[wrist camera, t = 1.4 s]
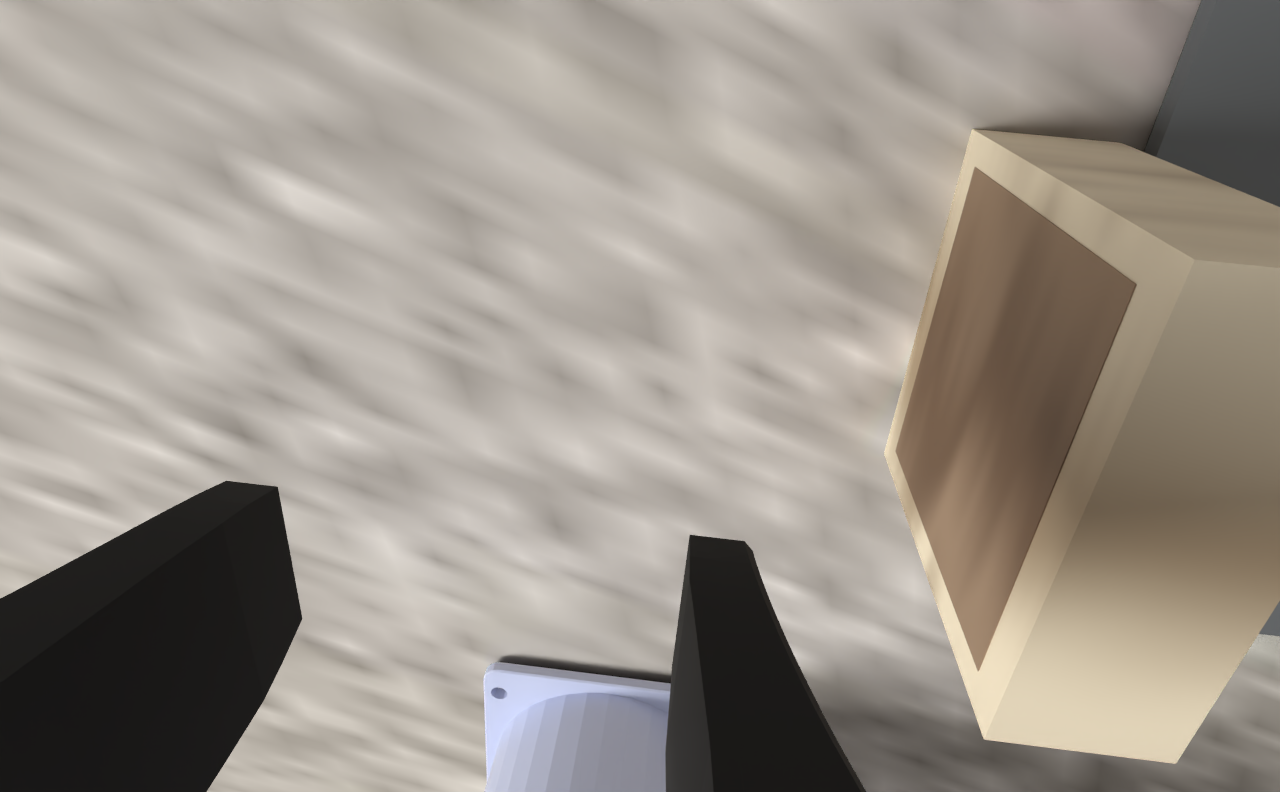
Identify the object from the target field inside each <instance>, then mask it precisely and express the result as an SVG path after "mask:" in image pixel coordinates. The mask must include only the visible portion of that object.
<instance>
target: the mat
mask: <svg viewBox="0 0 1280 792" xmlns="http://www.w3.org/2000/svg"><path fill="white" fill-rule="evenodd" d="M1144 152H1145V153H1147V154H1150V155H1152V156H1155V157H1157V158H1160V159H1162V160H1164V161H1167V162H1169V163H1172V164H1174V165H1177V166H1179V167H1182V168H1184V169H1187V170H1189V171H1192V172H1194V173H1197V174H1199V175H1202V176H1204V177H1206V178H1209V179H1211V180H1214V181H1216V182H1219V183H1221V184H1224V185H1226V186H1229V187H1231V188H1234V189H1236V190H1239V191H1241V192H1244V193H1246V194H1248V195H1251V196H1253V197H1256V198H1258V199H1261V200H1263V201H1266V202H1268V203H1271V204H1273V205H1276V206H1278V207H1280V0H1202V1H1201V3H1200V6H1199V9H1198V11H1197V14H1196V16H1195V19H1194V22H1193V24H1192V27H1191V30H1190V32H1189V35H1188V38H1187V40H1186V43H1185V45H1184V48H1183V51H1182V53H1181V56H1180V59H1179V61H1178V64H1177V66H1176V69H1175V72H1174V74H1173V77H1172V80H1171V82H1170V85H1169V87H1168V90H1167V93H1166V95H1165V98H1164V101H1163V103H1162V106H1161V109H1160V111H1159V114H1158V116H1157V119H1156V122H1155V124H1154V127H1153V130H1152V132H1151V135H1150V137H1149V140H1148V143H1147V145H1146V148H1145V151H1144ZM1259 634H1266V635H1274V636H1280V601H1279V603H1278V604H1277V606H1276V607H1275V609H1274V611H1273V612H1272V614H1271V615H1270V617H1269V618H1268V620H1267V621H1266V623H1265V625H1264V626H1263V628H1262V629H1261V631H1260V632H1259Z"/></svg>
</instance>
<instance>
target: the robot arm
mask: <svg viewBox="0 0 1280 792" xmlns="http://www.w3.org/2000/svg"><path fill="white" fill-rule="evenodd" d="M301 620H302V615H301V609H300V604H299V599H298V593H297V588H296V583H295V577H294V572H293V567H292V561H291V556H290V550H289V545H288V540H287V534H286V529H285V524H284V518H283V513H282V508H281V502H280V497H279V491H278V487H274V486H266V485H257V484H248V483H240V482H231V481H225V482H223V483H221V484H219V485H216V486H214V487H212V488H210V489H208V490H206V491H204V492H202V493H199V494H197V495H195V496H193V497H191V498H190V499H188V500H186V501H184V502H182V503H180V504H178V505H176V506H174V507H172V508H170V509H168V510H166V511H165V512H163V513H161V514H159V515H157V516H155V517H153V518H151V519H149V520H148V521H146V522H144V523H142V524H140V525H138V526H136V527H135V528H133V529H131V530H129V531H127V532H125V533H123V534H122V535H120V536H118V537H116V538H114V539H112V540H110V541H109V542H107V543H105V544H103V545H101V546H99V547H97V548H95V549H94V550H92V551H90V552H88V553H86V554H84V555H82V556H80V557H79V558H77V559H75V560H73V561H71V562H69V563H67V564H65V565H64V566H62V567H60V568H58V569H56V570H54V571H52V572H50V573H49V574H47V575H45V576H43V577H41V578H39V579H37V580H35V581H33V582H32V583H30V584H28V585H26V586H24V587H22V588H20V589H18V590H16V591H15V592H13V593H11V594H9V595H7V596H5V597H3V598H1V599H0V792H207V790H208V788H209V787H210V785H211V784H212V782H213V781H214V779H215V777H216V776H217V774H218V773H219V771H220V770H221V768H222V767H223V765H224V763H225V762H226V760H227V759H228V757H229V755H230V754H231V752H232V751H233V749H234V747H235V746H236V744H237V743H238V741H239V739H240V738H241V736H242V735H243V733H244V731H245V730H246V728H247V727H248V725H249V724H250V722H251V720H252V719H253V717H254V715H255V714H256V712H257V711H258V709H259V707H260V706H261V704H262V702H263V701H264V699H265V697H266V695H267V693H268V691H269V689H270V687H271V685H272V683H273V681H274V679H275V676H276V674H277V672H278V670H279V668H280V666H281V664H282V662H283V660H284V658H285V656H286V653H287V651H288V649H289V647H290V645H291V642H292V640H293V638H294V636H295V634H296V631H297V629H298V627H299V625H300V623H301ZM498 687H499V688H498ZM501 688H503V689H501ZM484 706H485V736H486V765H487V785H486V788H485V791H484V792H866V791H865V789H864V787H863V785H862V784H861V782H860V780H859V778H858V777H857V775H856V773H855V771H854V770H853V768H852V766H851V764H850V763H849V761H848V759H847V757H846V756H845V754H844V752H843V750H842V749H841V747H840V745H839V743H838V741H837V739H836V738H835V736H834V734H833V732H832V730H831V728H830V726H829V725H828V723H827V721H826V719H825V717H824V715H823V713H822V711H821V709H820V707H819V705H818V703H817V701H816V699H815V697H814V695H813V693H812V691H811V689H810V687H809V685H808V683H807V681H806V679H805V677H804V675H803V673H802V671H801V669H800V667H799V665H798V663H797V661H796V659H795V657H794V655H793V653H792V650H791V648H790V646H789V644H788V642H787V640H786V637H785V635H784V633H783V630H782V628H781V626H780V623H779V621H778V619H777V616H776V614H775V612H774V609H773V607H772V605H771V602H770V600H769V597H768V595H767V592H766V589H765V587H764V584H763V581H762V579H761V576H760V573H759V570H758V567H757V564H756V561H755V558H754V554H753V551H752V550H751V549H750V547H749V546H748V545H747V544H746V543H745V541H738V540H729V539H720V538H712V537H703V536H695V535H690V538H689V545H688V552H687V560H686V567H685V575H684V582H683V590H682V597H681V604H680V612H679V619H678V627H677V634H676V642H675V649H674V656H673V664H672V676H671V683H663V682H655V681H647V680H639V679H631V678H623V677H615V676H607V675H599V674H591V673H583V672H575V671H567V670H559V669H551V668H543V667H535V666H527V665H519V664H511V663H503V662H496V663H493V664H490V665H489V666H488V667H487V670H486V672H485V676H484Z"/></svg>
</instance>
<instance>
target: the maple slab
mask: <svg viewBox="0 0 1280 792" xmlns="http://www.w3.org/2000/svg"><path fill="white" fill-rule="evenodd" d="M884 455H885V458H886V460H887V463H888V466H889V469H890V472H891V475H892V478H893V480H894V483H895V486H896V489H897V492H898V495H899V498H900V501H901V503H902V506H903V509H904V512H905V515H906V518H907V521H908V523H909V526H910V529H911V532H912V535H913V538H914V541H915V544H916V546H917V549H918V552H919V555H920V558H921V561H922V564H923V566H924V569H925V572H926V575H927V578H928V581H929V584H930V587H931V589H932V592H933V595H934V598H935V601H936V604H937V607H938V609H939V612H940V615H941V618H942V621H943V624H944V627H945V630H946V632H947V635H948V638H949V641H950V644H951V647H952V650H953V652H954V655H955V658H956V661H957V664H958V667H959V670H960V673H961V675H962V678H963V681H964V684H965V687H966V690H967V693H968V695H969V698H970V701H971V704H972V707H973V710H974V713H975V716H976V718H977V721H978V724H979V727H980V730H981V733H982V736H983V738H984V740H991V741H999V742H1007V743H1015V744H1023V745H1031V746H1039V747H1047V748H1055V749H1063V750H1071V751H1078V752H1086V753H1094V754H1102V755H1110V756H1118V757H1126V758H1134V759H1142V760H1150V761H1158V762H1165V763H1173V764H1176V763H1177V761H1178V760H1179V758H1180V757H1181V755H1182V753H1183V752H1184V750H1185V749H1186V747H1187V746H1188V744H1189V742H1190V741H1191V739H1192V738H1193V736H1194V735H1195V733H1196V731H1197V730H1198V728H1199V727H1200V725H1201V724H1202V722H1203V720H1204V719H1205V717H1206V716H1207V714H1208V713H1209V711H1210V709H1211V708H1212V706H1213V705H1214V703H1215V702H1216V700H1217V698H1218V697H1219V695H1220V694H1221V692H1222V691H1223V689H1224V687H1225V686H1226V684H1227V683H1228V681H1229V680H1230V678H1231V676H1232V675H1233V673H1234V672H1235V670H1236V669H1237V667H1238V665H1239V664H1240V662H1241V661H1242V659H1243V658H1244V656H1245V654H1246V653H1247V651H1248V650H1249V648H1250V647H1251V645H1252V643H1253V642H1254V640H1255V639H1256V637H1257V636H1258V634H1259V632H1260V631H1261V629H1262V628H1263V626H1264V625H1265V623H1266V621H1267V620H1268V618H1269V617H1270V615H1271V614H1272V612H1273V611H1274V609H1275V607H1276V606H1277V604H1278V603H1279V601H1280V207H1278V206H1276V205H1273V204H1271V203H1268V202H1266V201H1263V200H1261V199H1258V198H1256V197H1253V196H1251V195H1248V194H1246V193H1244V192H1241V191H1239V190H1236V189H1234V188H1231V187H1229V186H1226V185H1224V184H1221V183H1219V182H1216V181H1214V180H1211V179H1209V178H1206V177H1204V176H1202V175H1199V174H1197V173H1194V172H1192V171H1189V170H1187V169H1184V168H1182V167H1179V166H1177V165H1174V164H1172V163H1169V162H1167V161H1164V160H1162V159H1160V158H1157V157H1155V156H1152V155H1150V154H1147V153H1145V152H1142V151H1140V150H1137V149H1135V148H1132V147H1130V146H1127V145H1125V144H1122V143H1119V142H1108V141H1097V140H1086V139H1075V138H1065V137H1054V136H1043V135H1032V134H1021V133H1010V132H1000V131H989V130H978V129H972V131H971V135H970V139H969V143H968V146H967V150H966V154H965V157H964V161H963V165H962V168H961V172H960V176H959V179H958V183H957V187H956V190H955V194H954V198H953V201H952V205H951V209H950V213H949V216H948V220H947V224H946V227H945V231H944V235H943V238H942V242H941V246H940V249H939V253H938V257H937V260H936V264H935V268H934V271H933V275H932V279H931V282H930V286H929V290H928V294H927V297H926V301H925V305H924V308H923V312H922V316H921V319H920V323H919V327H918V330H917V334H916V338H915V341H914V345H913V349H912V352H911V356H910V360H909V363H908V367H907V371H906V375H905V378H904V382H903V386H902V389H901V393H900V397H899V400H898V404H897V408H896V411H895V415H894V419H893V422H892V426H891V430H890V433H889V437H888V441H887V445H886V448H885V452H884Z"/></svg>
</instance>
